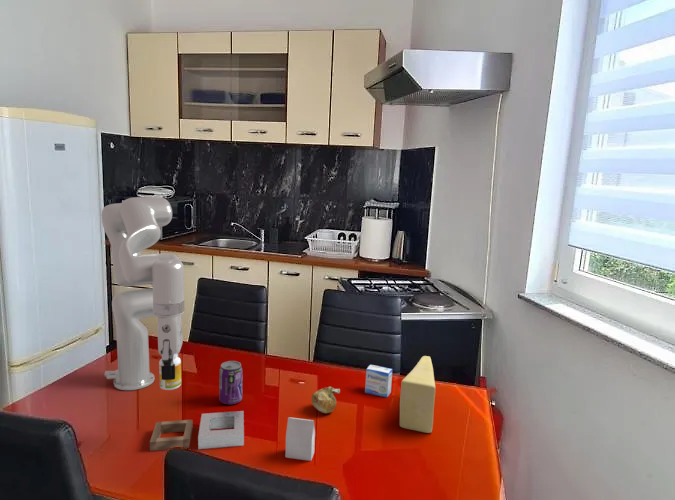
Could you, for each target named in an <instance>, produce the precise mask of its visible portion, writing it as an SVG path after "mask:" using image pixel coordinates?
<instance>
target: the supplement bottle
mask: <svg viewBox="0 0 675 500" xmlns="http://www.w3.org/2000/svg"><path fill="white" fill-rule="evenodd" d="M169 353H172V351H169ZM177 356H178V357H177ZM169 358H171V355H170V356H169ZM174 364H175V379H173V380H162V368H161V365H162V358H160V360H159V362H158V369H159V370H158V371H159V373H158V374H159V375H158V376H159V388H160V389H161V390H165V391H172V390H176V389H178V388H180V386H181V385H182V360H181V358H180V357H179V353H178V354H174Z"/></svg>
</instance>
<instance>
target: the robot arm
mask: <svg viewBox="0 0 675 500" xmlns="http://www.w3.org/2000/svg"><path fill="white" fill-rule="evenodd" d="M100 215H101V224H102V227H103V229H104V233H105V234H106V236H107V239H108V241H109V243H110V246H111V257H112V266H113V275H114V280H115V282H116V284H117V285H118V286H120V287H136V286H145V285H151V288H150V287H149V288H142V289H133V290H125V291H121V292H119V293H117V294H115V295H114V296H113V298H112V300H111V308H112V312H113V313H112V314H113V318H114V322H115V323H114V324H115V330H116V331H115V332H116V349H117V369H115V370H105V371H104V377H105V378H106V380H113V386H114V388H115V389H117V390H121V391H137V390H141V389H144V388H146V387H149V386H150V385H152V384H153V383H154V381H155V374H154V373H152V372H150V352H149V351H150V349H149V330H148V328H147V327H146V325H145V324H144V323H142V322H141V321H140V320H142V319H146V318H153V317H157V350H158V354H159V355H160V356H161V359H162V365H161V368H162V380H173V379H175V364H174V354H178V356H177V357H179V353H180V352H181V349H182V346H183V342H184V340H183V339H184V338H183V320H182V315H183V314H185V275H184V274H185V268H184V267H185V266H184V263H183V262H182V261H181V259H180V258H179V257H178V255H176V254H175V253H172V252H168V253H167V252H166V253H152V254H151V253H150V254H142V251H144V250H146V249H148V248H151V247H152V246H153V245H155V244H157V242H158V241H159V240H160V238H161V236H162V232H161V231H162V230H161V228H163V227H165V226H167V225H168V224H170V222H171V221H172V218H173V208H172V206H171V203H170V201H169V200H167V199H166V198H164V197H160V196H151V197H150V196H147V197H146V196H144V197H143V196H139V197H137V196H135V197H133V196H132V197H129V198H126V199H124V200H123V201H122V202H120V203H119V202H118V203H110V204H107V205H106V206H104V207H103V208H102V210H101V214H100ZM169 351H172V353H169ZM170 355H171V358H169V356H170Z"/></svg>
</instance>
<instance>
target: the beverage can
mask: <svg viewBox="0 0 675 500" xmlns="http://www.w3.org/2000/svg"><path fill="white" fill-rule="evenodd" d="M218 373H219V377H218V382H219V383H218V385H219V386H218V389H219V394H218V395H219V396H218V397H219V399H218V400H219V401H220V403H222V404H225V405H230V406H231V405H235V404H237V403H239V402H241V401H242V400H243V381H244V380H243V377H244V376H243V368H242V363H241V362H239V361H237V360H228V361H224V362H222V363H221V364H220V369H219V371H218Z"/></svg>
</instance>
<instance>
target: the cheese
mask: <svg viewBox="0 0 675 500" xmlns="http://www.w3.org/2000/svg"><path fill="white" fill-rule="evenodd" d="M434 374H435V373H434V367H433V363H432V359H431V356H429V355H428V356H427V355H423V356H422V357H421V358H420V359H419V361H417V364H416V365H415V366H414V367H413V369H412V370H411V371H410V372H409V373H407V375H406V376H404V378H403V379H402V380H401V383H400V385H401V386H400V395H399V398H400V399H399V427H401V428H403V429H406V430H412V431H416V432H421V433H427V434H430V433H432V431H433V426H434V408H435V399H436V398H435V397H436V381H435V375H434Z"/></svg>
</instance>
